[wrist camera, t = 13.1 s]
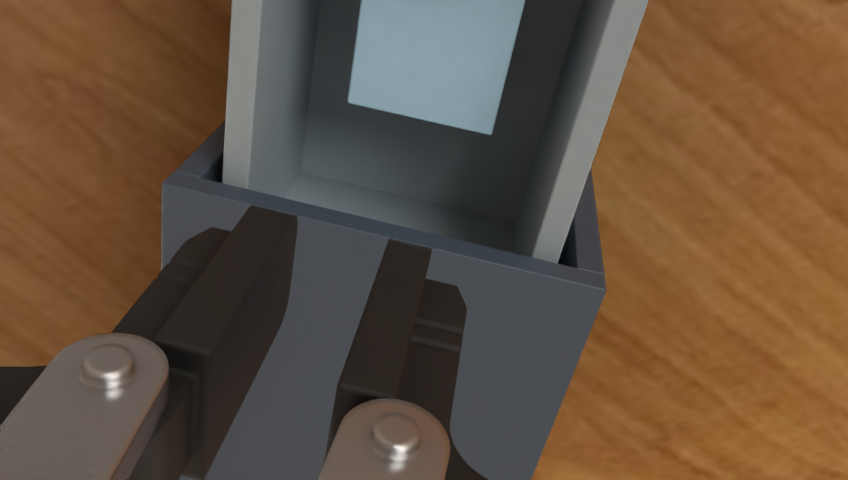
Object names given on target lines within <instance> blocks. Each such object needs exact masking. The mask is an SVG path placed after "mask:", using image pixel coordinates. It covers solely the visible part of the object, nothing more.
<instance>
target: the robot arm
mask: <svg viewBox="0 0 848 480" xmlns="http://www.w3.org/2000/svg"><path fill="white" fill-rule="evenodd" d="M297 228H298V219H297V216H296V215H292V214H287V213H283V212H279V211H275V210H271V209H267V208H262V207H258V206H254V205H252V206H250V207H249V208H248V209H247V211H246V212H245V214H244V215H243V216H242V218H241V219H240V220H239V222H238V223H237V225H236V226H235V227H234V229H233V230H232V231H227V230H223V229H219V228H215V227H211V228H209V229H207V230H205V231H203V232H201V233H199V234H197V235H195V236H194V237H192V238H190V239H188V240H186V241H185V242H184V244H183V245H182V246H181V247H180V249H179V250H178V251H177V252H176V253H175V255H174V256H173V257H172V258H171V261H170V263H167V265H166V266H165V267H164V268H163V270H162V271H161V272H160V273H159V274H158V278H157V279H154V281H153V282H152V283H151V284H150V286H149V287H148V288H147V289H146V290H145V292H144V293H143V294H142V295H141V297H140V298H139V299H138V300H137V302H136V303H135V304H134V305H133V306H132V308H131V309H130V310H129V311H128V313H127V314H126V315H125V316H124V318H123V319H122V320H121V321H120V322H119V324H118V325H117V326H116V327H115V329H114V330H113V331H112V332H111V333H104V334H98V335H93V336H89V337H86V338H83V339H80V340H78V341H76V342H74V343H72V344H70V345H68V346H66V347H65V348H64V349H62V350H61V351H60V352H59V353H58V354H57V355H56V356H55V357H54V358H53V359H52V361H51V362H50V363H49V364H48V365H47V366H36V367H0V480H179V478H180V476H181V475H183V476H187V477H191V478H195V479H199V480H204V479H205V477H206V475H207V473H208V471H209V469H210V467H211V465H212V463H213V461H214V459H215V457H216V455H217V453H218V451H219V449H220V447H221V445H222V443H223V441H224V439H225V437H226V435H227V433H228V431H229V429H230V427H231V425H232V423H233V421H234V419H235V417H236V415H237V413H238V411H239V409H240V407H241V405H242V403H243V401H244V399H245V397H246V395H247V393H248V391H249V389H250V387H251V385H252V383H253V381H254V379H255V377H256V375H257V373H258V371H259V369H260V367H261V365H262V363H263V361H264V359H265V357H266V355H267V353H268V351H269V349H270V347H271V345H272V343H273V341H274V339H275V337H276V335H277V333H278V331H279V329H280V327H281V324H282V321H283V319H284V315H285V312H286V308H287V304H288V300H289V294H290V287H291V279H292V270H293V262H294V254H295V245H296V237H297ZM432 249H433V248H428V247H424V246H420V245H416V244H412V243H408V242H403V241H399V240H395V239H391V238H389V240H388V243H387V246H386V249H385V251H384V254H383V257H382V260H381V263H380V266H379V268H378V271H377V274H376V277H375V280H374V283H373V285H372V288H371V291H370V294H369V297H368V300H367V302H366V305H365V308H364V311H363V314H362V317H361V319H360V322H359V325H358V328H357V331H356V334H355V336H354V339H353V342H352V345H351V348H350V351H349V353H348V356H347V359H346V362H345V365H344V367H343V370H342V373H341V376H340V379H339V382H338V384H337V390H336V396H335V401H334V407H333V413H332V418H331V424H330V430H329V435H328V441H327V447H326V452H325V458H324V464H323V468H322V471H321V473H320V476H319V478H318V480H488V479H487V478H485V477H483V476H482V475H480V474H479V473H478V472H476V471H475V470H474V469H473V468H471V467H470V466H469V465H468V464H467V463H466V462H465V461H464V459H463V458H462V457H461V455H460V454H459V453H458V451H457V449H456V447H455V445H454V443H453V440H452V437H451V432H450V419H451V412H452V405H453V399H454V392H455V386H456V379H457V373H458V366H459V359H460V351H461V346H462V340H463V332H464V326H465V320H466V313H467V307H466V304H465V302H464V300H463V298H462V295H461V293H460V291H459V289H458V286H455V285H451V284H447V283H443V282H439V281H434V280H430V279H426V275H427V271H428V266H429V262H430V258H431V254H432Z"/></svg>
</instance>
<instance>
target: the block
mask: <svg viewBox="0 0 848 480" xmlns="http://www.w3.org/2000/svg"><path fill="white" fill-rule="evenodd" d="M524 4H525V0H361V2H360V10H359V17H358V25H357V32H356V40H355V47H354V55H353V62H352V69H351V77H350V84H349V92H348V99H347V101H348V103H349V104H353V105H358V106H362V107H367V108H371V109H376V110H380V111H384V112H389V113H393V114H398V115H402V116H407V117H411V118H415V119H420V120H424V121H429V122H433V123H438V124H442V125H446V126H451V127H455V128H460V129H464V130H469V131H473V132H477V133H482V134H486V135H491V134H492V132H493V128H494V124H495V120H496V116H497V112H498V108H499V104H500V100H501V96H502V92H503V88H504V84H505V80H506V76H507V72H508V68H509V64H510V60H511V56H512V52H513V48H514V44H515V40H516V36H517V32H518V28H519V24H520V20H521V16H522V12H523V8H524Z"/></svg>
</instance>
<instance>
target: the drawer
mask: <svg viewBox="0 0 848 480" xmlns="http://www.w3.org/2000/svg"><path fill="white" fill-rule="evenodd" d="M648 1H649V0H525V4H524V8H523V12H522V16H521V20H520V24H519V28H518V32H517V36H516V40H515V44H514V48H513V52H512V56H511V60H510V64H509V68H508V72H507V76H506V80H505V84H504V88H503V92H502V96H501V100H500V104H499V108H498V112H497V116H496V120H495V124H494V128H493V132H492V134H491V135H486V134H482V133H477V132H473V131H469V130H464V129H460V128H455V127H451V126H446V125H442V124H438V123H433V122H429V121H424V120H420V119H415V118H411V117H407V116H402V115H398V114H393V113H389V112H384V111H380V110H376V109H371V108H367V107H362V106H358V105H353V104H349V103H348V101H347V99H348V92H349V84H350V77H351V69H352V62H353V55H354V47H355V40H356V32H357V25H358V17H359V10H360V2H361V0H232V9H231V27H230V45H229V63H228V81H227V99H226V118H225V136H224V154H223V172H222V183H223V184H228V185H232V186H236V187H240V188H244V189H249V190H253V191H257V192H261V193H265V194H269V195H274V196H278V197H282V198H286V199H290V200H294V201H299V202H303V203H307V204H311V205H315V206H319V207H324V208H328V209H332V210H336V211H340V212H344V213H349V214H353V215H357V216H361V217H365V218H369V219H374V220H378V221H382V222H386V223H390V224H394V225H399V226H403V227H407V228H411V229H415V230H419V231H424V232H428V233H432V234H436V235H440V236H444V237H449V238H453V239H457V240H461V241H465V242H469V243H474V244H478V245H482V246H486V247H490V248H495V249H499V250H503V251H507V252H511V253H515V254H520V255H524V256H528V257H532V258H536V259H540V260H545V261H549V262H553V263H558V260H559V257H560V255H561V252H562V249H563V246H564V243H565V240H566V237H567V234H568V231H569V229H570V226H571V223H572V220H573V217H574V214H575V211H576V208H577V206H578V203H579V200H580V197H581V194H582V191H583V188H584V185H585V182H586V180H587V177H588V174H589V171H590V168H591V165H592V162H593V159H594V157H595V154H596V151H597V148H598V145H599V142H600V139H601V136H602V133H603V131H604V128H605V125H606V122H607V119H608V116H609V113H610V110H611V107H612V105H613V102H614V99H615V96H616V93H617V90H618V87H619V84H620V82H621V79H622V76H623V73H624V70H625V67H626V64H627V61H628V58H629V56H630V53H631V50H632V47H633V44H634V41H635V38H636V35H637V33H638V30H639V27H640V24H641V21H642V18H643V15H644V12H645V9H646V7H647V4H648Z"/></svg>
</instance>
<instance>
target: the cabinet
mask: <svg viewBox="0 0 848 480" xmlns="http://www.w3.org/2000/svg"><path fill="white" fill-rule="evenodd" d="M224 136H225V121H224V122H223V123H222V124H221V125H220V126H219V127H218V128H217V129H216V130H215V131H214V132H213V133H212V134H211V135H210V136H209V137H208V138H207V139H206V140H205V141H204V142H203V143H202V144H201V145H200V146H199V147H198V148H197V149H196V150H195V151H194V152H193V153H192V154H191V155H190V156H189V157H188V158H187V159H186V160H185V161H184V162H183V163H182V164H181V165H180V166H179V167H178V168H177V169H176V171H175V172H173V173H172V174H171V175H170V176H169V177H168V178H167V179H166V180H165V181H164V182H163V183H162V240H161V271H162V270H163V268H164V267H165V266H166V265H167V263H170V261H171V258H172V257H173V256H174V255H175V253H176V252H177V251H178V250H179V249H180V247H181V246H182V245H183V244H184V242H185V241H186V240H188V239H190V238H192V237H194V236H195V235H197V234H199V233H201V232H203V231H205V230H207V229H209V228H211V227H215V228H219V229H223V230H227V231H232V230H233V229H234V227H235V226H236V225H237V223H238V222H239V220H240V219H241V218H242V216H243V215H244V214H245V212H246V211H247V209H248V208H249V207H250V206H252V205H254V206H258V207H262V208H267V209H271V210H275V211H279V212H283V213H287V214H292V215H296V216H297V219H298V228H297V237H296V245H295V254H294V262H293V270H292V279H291V287H290V294H289V300H288V304H287V308H286V312H285V315H284V319H283V321H282V324H281V327H280V329H279V331H278V333H277V335H276V337H275V339H274V341H273V343H272V345H271V347H270V349H269V351H268V353H267V355H266V357H265V359H264V361H263V363H262V365H261V367H260V369H259V371H258V373H257V375H256V377H255V379H254V381H253V383H252V385H251V387H250V389H249V391H248V393H247V395H246V397H245V399H244V401H243V403H242V405H241V407H240V409H239V411H238V413H237V415H236V417H235V419H234V421H233V423H232V425H231V427H230V429H229V431H228V433H227V435H226V437H225V439H224V441H223V443H222V445H221V447H220V449H219V451H218V453H217V455H216V457H215V459H214V461H213V463H212V465H211V467H210V469H209V471H208V473H207V475H206V477H205V479H204V480H318V478H319V476H320V473H321V471H322V468H323V464H324V458H325V452H326V447H327V441H328V435H329V430H330V424H331V418H332V413H333V407H334V401H335V396H336V390H337V384H338V382H339V379H340V376H341V373H342V370H343V367H344V365H345V362H346V359H347V356H348V353H349V351H350V348H351V345H352V342H353V339H354V336H355V334H356V331H357V328H358V325H359V322H360V319H361V317H362V314H363V311H364V308H365V305H366V302H367V300H368V297H369V294H370V291H371V288H372V285H373V283H374V280H375V277H376V274H377V271H378V268H379V266H380V263H381V260H382V257H383V254H384V251H385V249H386V246H387V243H388V240H389V238H391V239H395V240H399V241H403V242H408V243H412V244H416V245H420V246H424V247H428V248H433V249H432V254H431V258H430V262H429V266H428V271H427V275H426V279H430V280H434V281H439V282H443V283H447V284H451V285H455V286H458V289H459V291H460V293H461V295H462V298H463V300H464V302H465V304H466V307H467V313H466V320H465V326H464V332H463V340H462V346H461V351H460V359H459V366H458V373H457V379H456V386H455V392H454V399H453V405H452V412H451V419H450V432H451V437H452V440H453V443H454V445H455V447H456V449H457V451H458V453H459V454H460V455H461V457H462V458H463V459H464V461H465V462H466V463H467V464H468V465H469V466H470V467H471V468H473V469H474V470H475V471H476V472H478V473H479V474H480V475H482V476H483V477H485V478H487V479H488V480H531V479H532V476H533V474H534V471H535V469H536V466H537V464H538V461H539V458H540V456H541V453H542V451H543V448H544V446H545V443H546V441H547V438H548V436H549V433H550V431H551V428H552V426H553V423H554V421H555V418H556V416H557V413H558V411H559V408H560V406H561V403H562V401H563V398H564V396H565V393H566V391H567V388H568V386H569V383H570V381H571V378H572V376H573V373H574V371H575V368H576V366H577V363H578V360H579V358H580V355H581V353H582V350H583V348H584V345H585V343H586V340H587V338H588V335H589V333H590V330H591V328H592V325H593V323H594V320H595V318H596V315H597V313H598V310H599V308H600V305H601V303H602V300H603V298H604V295H605V293H606V284H605V276H604V268H603V260H602V252H601V244H600V236H599V228H598V220H597V212H596V204H595V196H594V188H593V180H592V173H591V168H590V171H589V174H588V177H587V180H586V182H585V185H584V188H583V191H582V194H581V197H580V200H579V203H578V206H577V208H576V211H575V214H574V217H573V220H572V223H571V226H570V229H569V231H568V234H567V237H566V240H565V243H564V246H563V249H562V252H561V255H560V257H559V260H558V263H553V262H549V261H545V260H540V259H536V258H532V257H528V256H524V255H520V254H515V253H511V252H507V251H503V250H499V249H495V248H490V247H486V246H482V245H478V244H474V243H469V242H465V241H461V240H457V239H453V238H449V237H444V236H440V235H436V234H432V233H428V232H424V231H419V230H415V229H411V228H407V227H403V226H399V225H394V224H390V223H386V222H382V221H378V220H374V219H369V218H365V217H361V216H357V215H353V214H349V213H344V212H340V211H336V210H332V209H328V208H324V207H319V206H315V205H311V204H307V203H303V202H299V201H294V200H290V199H286V198H282V197H278V196H274V195H269V194H265V193H261V192H257V191H253V190H249V189H244V188H240V187H236V186H232V185H228V184H223V183H222V172H223V154H224ZM179 480H199V479H195V478H191V477H187V476H183V475H181V476H180V478H179Z"/></svg>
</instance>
